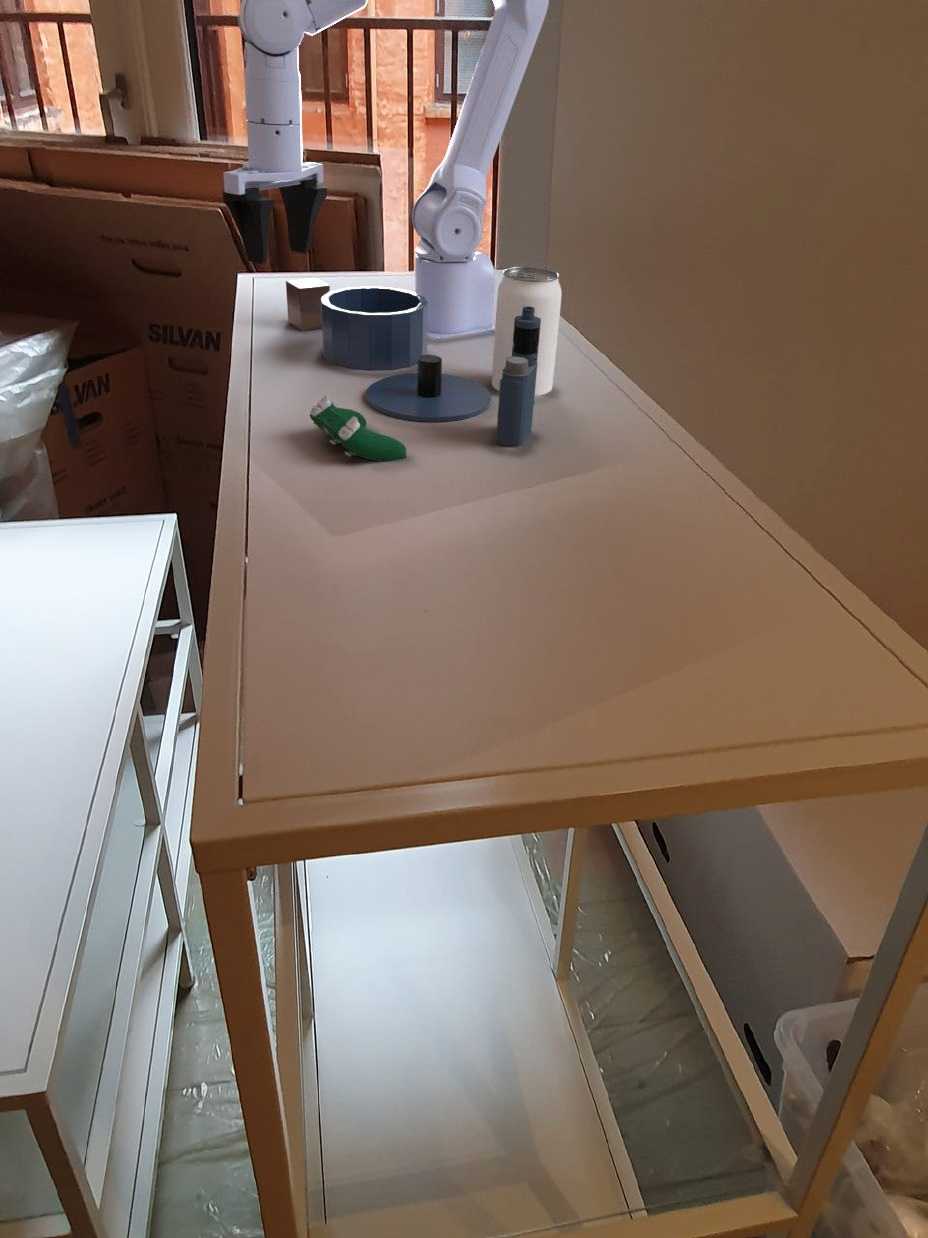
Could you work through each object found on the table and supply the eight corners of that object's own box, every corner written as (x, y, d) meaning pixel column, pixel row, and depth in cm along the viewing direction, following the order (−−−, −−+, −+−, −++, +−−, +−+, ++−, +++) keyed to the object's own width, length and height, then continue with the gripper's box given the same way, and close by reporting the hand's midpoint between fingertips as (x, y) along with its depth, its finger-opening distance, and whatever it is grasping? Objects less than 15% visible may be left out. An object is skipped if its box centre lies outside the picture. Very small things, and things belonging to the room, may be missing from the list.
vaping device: (534, 434, 87) (546, 306, 81) (519, 454, 83) (530, 321, 76) (508, 429, 88) (518, 302, 81) (492, 449, 84) (501, 317, 77)
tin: (393, 337, 111) (394, 282, 107) (445, 366, 103) (447, 307, 99) (306, 350, 105) (303, 292, 101) (353, 381, 97) (351, 320, 94)
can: (547, 404, 94) (559, 283, 88) (486, 396, 95) (493, 277, 88) (555, 383, 99) (567, 268, 93) (496, 377, 100) (504, 262, 94)
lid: (447, 376, 100) (449, 332, 97) (515, 414, 91) (518, 368, 89) (344, 394, 94) (343, 348, 91) (406, 436, 85) (407, 388, 83)
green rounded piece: (339, 449, 87) (295, 415, 82) (364, 417, 86) (321, 381, 82) (387, 487, 80) (342, 451, 76) (414, 452, 80) (370, 415, 76)
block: (317, 318, 116) (315, 277, 113) (331, 326, 113) (329, 285, 110) (288, 322, 114) (285, 280, 111) (301, 330, 111) (299, 288, 109)
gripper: (287, 115, 104) (290, 241, 111) (197, 120, 93) (207, 260, 100) (338, 122, 101) (338, 251, 108) (251, 128, 90) (258, 271, 97)
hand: (278, 256), depth 104 cm, fingers open, 7 cm apart
